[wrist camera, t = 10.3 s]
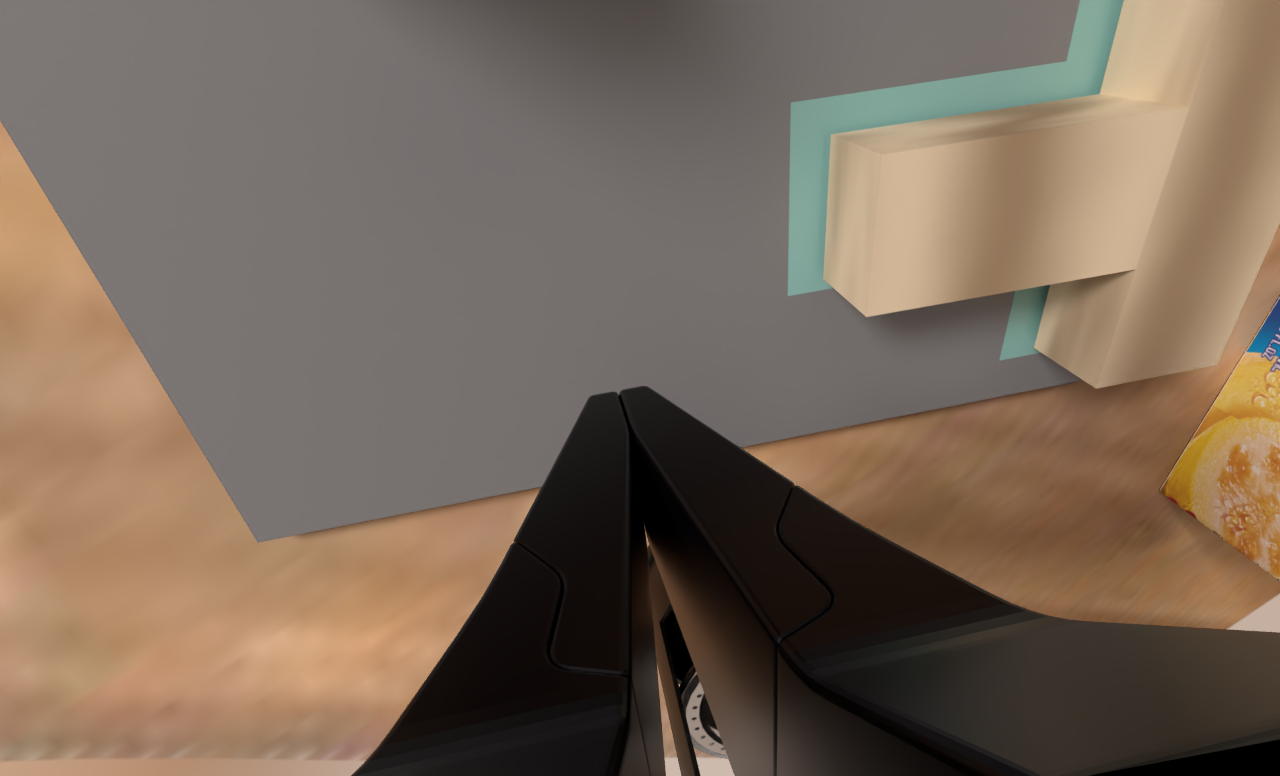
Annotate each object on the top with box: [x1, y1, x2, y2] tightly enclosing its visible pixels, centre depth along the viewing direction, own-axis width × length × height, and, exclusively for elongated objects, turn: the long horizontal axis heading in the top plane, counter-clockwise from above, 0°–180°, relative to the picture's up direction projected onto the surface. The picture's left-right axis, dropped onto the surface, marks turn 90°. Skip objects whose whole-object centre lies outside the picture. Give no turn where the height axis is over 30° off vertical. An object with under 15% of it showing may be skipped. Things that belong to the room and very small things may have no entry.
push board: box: [0, 0, 1124, 542], centre depth 20 cm, size 36×18×1 cm, turn 97°
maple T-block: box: [823, 0, 1280, 389], centre depth 19 cm, size 13×13×3 cm
